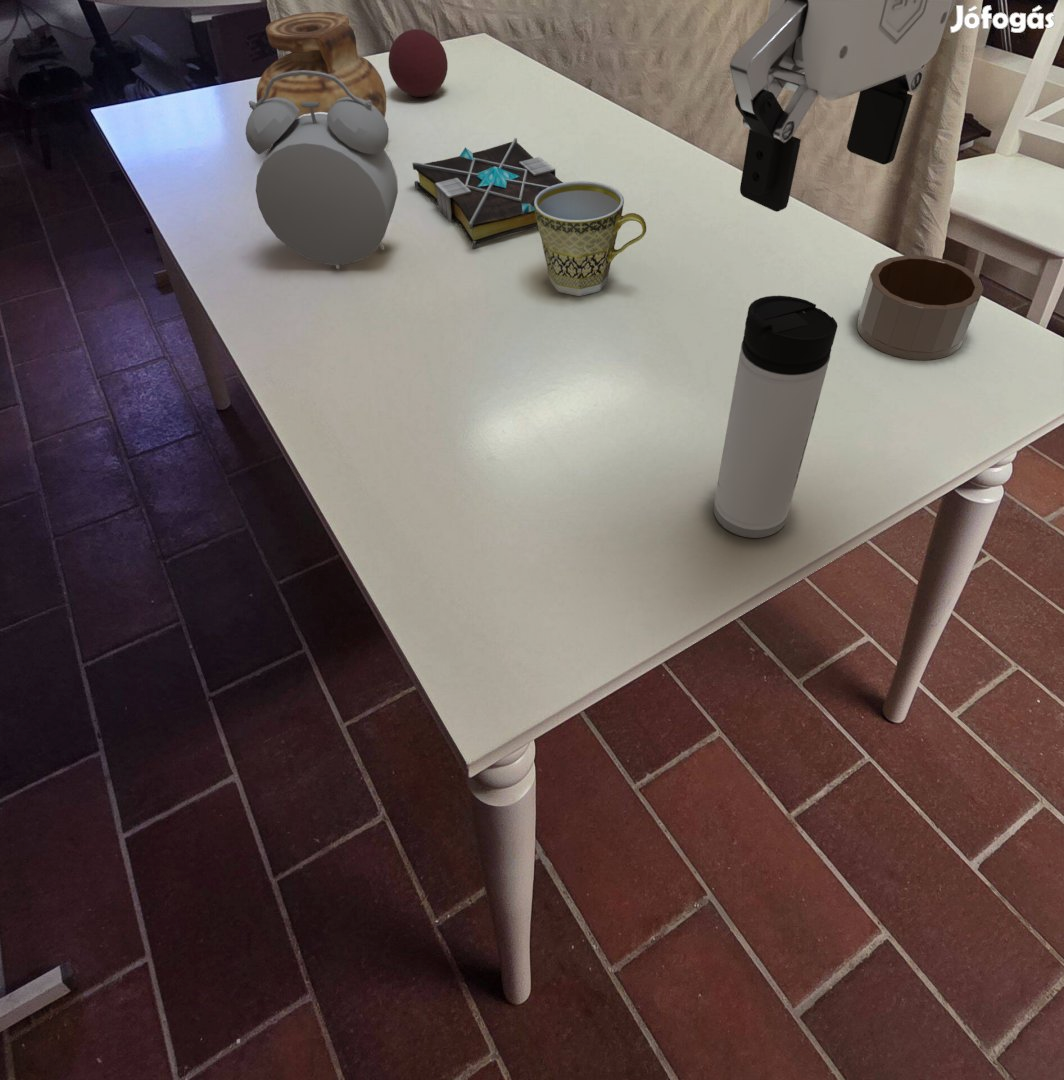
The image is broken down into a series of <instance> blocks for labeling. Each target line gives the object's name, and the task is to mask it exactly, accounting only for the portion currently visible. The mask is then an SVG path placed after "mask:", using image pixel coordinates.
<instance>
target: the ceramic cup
mask: <svg viewBox="0 0 1064 1080" xmlns="http://www.w3.org/2000/svg"><path fill="white" fill-rule="evenodd" d="M624 203H625V199H624V196H623V194H622V193H621V192H620V191H619V190H618V189H617V188H614V187H613V186H611V185H608V184H606V183H601V182H597V181H590V180H589V181H588V180H574V181H567V182H566V181H564V182H563V183H560V184H556V185H553V186H550V187H548V188H546V189H544V190H543V191H541V192H540V193H539V194H538V195H537V196H536V198H535V201H534V207H535V214H536V219H537V224H538V227H537V229H538V233H539V236H540V239H541V243H542V249H543V255H544V259H545V263H546V268H547V269H546V270H547V273H548V277H549V282H550V284H552V286H553V287H554V288H555V289H556V291H557V292H558V293H561V294H565V295H566V294H567V295H572V296H576V297H583V296H586V295H591V294H594V293H599V292H601V290H603V288H604V287H605V285H606V284H607V283H608V279H609V273H610V269H611V264H612V262H613V260H614V259H615V257H616V256H617V255H619V254H621V253H622V252H624V251H625V250H626V249H627V248H629V247H630V246H632V245H634V244H635V243H637V242H639V241H640V240H642V239H643V237H644V236H645V235H646V232H647V222H646V221H645V219H644V217H643V216H642V215H640V214H638V213H635V212H629V213H626V214H624V215H623V210H624ZM631 221H633V222H636V223H639V224H640V225H641V229H642V231H641V233H640V234H639V235H638V236H637V237H635V238H632V239H631V240H629V241H627V242H626V243H625V244H623V246H621V247H620V248H618V249H616V248H615V246H616V241H617V237H618V233H619V231H620V229H621V228H622V226H623V225H624V224H625V223H628V222H631Z"/></svg>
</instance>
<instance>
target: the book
mask: <svg viewBox="0 0 1064 1080" xmlns="http://www.w3.org/2000/svg"><path fill="white" fill-rule="evenodd" d="M412 170H413V171H414V170H415V171H417V174H418V175H417V176H418V180H415V181H414V188H415V189H419V190H422V191H423V192H424V193H425V194H426V195H428V196H429V197H430V198H431V199H432V200H433V201H434V202H436V203H437V208H438V210H439V211H440V213H442V215H444V217H446V218H447V220H448V221H449V222H450V223H455V222H456V223H457V225H459V226H460V227H461V229H462V230H463V231H464V233H465V234H466V236H467V237H468V239H469V241H470V242H471V244H472V249H476V248H477V246H478V245H481V244H484V243H487V242H490V241H493V240H497V239H499V238H503V237H505V236H509V235H513V234H517V233H521V232H525V231H528V230H532V229H536V228H537V229H538V224H537V219H536V214H535V207H534V201H535V198H536V196H537V195H538V194H539V193H540V192H541V191H543V190H544V189H546V188H548V187H550V186H553V185H556V184H560V183H564V181H561V180H560V179H559V178H558V177H557V176H556V168H555V167H554V166H552V164H550V163H548V162H547V161H546V160H544V159H543V157H541V156H537V157H533V156H532V155H531V154H530V153H529V152H528V151H527V150H526V149H525V147H523V146H522V145H521V144H520V143H518V138H517V137H513V140H512V141H510V142H506V143H503V144H499V145H496V146H494V147H490V148H487V149H483V150H479V151H475V152H472V151H471V150H470V149H468V147H466V146H465V147H464V149H463V150H462V152H461V153H460V155H458V156H454V157H450V158H446V159H441V160H437V161H432V162H425V163H421V162H412Z"/></svg>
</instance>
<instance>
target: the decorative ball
mask: <svg viewBox="0 0 1064 1080" xmlns="http://www.w3.org/2000/svg"><path fill="white" fill-rule="evenodd" d="M448 65H449V64H448V57H447V53H446V51H445V48H444V46H443V44H442V43H441V41H440V40H439V39H438V38H437V37H436V36H435V35H433V34H432V33H431V32H429V31H428V30H427V31H426V30H424V29H420V28H419V29H417V28H412V29H409V30H405V31H404V32H402V33H401V34H398V36H397V37H396V38H395V40H394V41H393V43H392V44H391V47H390V49H389V52H388V69H389V74H390V75H391V78H392V80H393V82H394V83H395V85H396V87H398V88H399V89H400V91H403V93H405V94H407V95H409V96H412V97H415V98H424V97H429V96H431V95H433V94H434V93H436V92H437V91H439V89H441V87H442V86H443V84H444V82H445V80H446V77H447V75H448V67H449V66H448Z"/></svg>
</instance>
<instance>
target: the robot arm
mask: <svg viewBox="0 0 1064 1080" xmlns="http://www.w3.org/2000/svg"><path fill="white" fill-rule="evenodd" d="M957 3H958V0H770V2H769V5H768V6H769V7H768V13H767V18H766V21H765V22H764V23H763V24H762V25H761V26H760V27H759V28H758V29H757V30H756V31H755V32H754V33H753V34H752V35H751V36H750V38H749V39H748V40H746V41H745V42H744V44H742V46H741V47H740V48H739V49H738V50H737V51H736V52H735V53H734V54H733V56H732V58H731V59H730V63H729V69H730V74H731V78H732V79H731V80H732V83H733V87H734V92H735V99H734V105H735V107H736V109H737V111H738V112H739V113H740V115H741V116H742V125H743V127H744V128H746V129H747V130H749V131H748V136H747V140H746V148H745V155H744V162H743V165H742V166H743V168H742V172H741V173H742V174H741V180H740V185H739V186H740V187H739V193H740V195H741V196H742V197H744V198H745V199H748V200H749V201H751V202H754V203H756V204H758V205H760V206H762V207H765V208H767V209H769V210H771V211H773V212H776V213H778V212H780V211H783V210H785V209H787V207H788V205H789V200H790V195H791V191H792V185H793V181H794V176H795V173H796V172H795V171H796V167H797V163H798V162H797V161H798V157H799V153H800V149H801V148H800V147H801V141H802V138H798V137H797V136H794V134H795V133H796V132H797V130H798V128H799V126H800V125H801V123H802V121H804V118H805V117H806V115H807V114H808V112H809V110H810V108H811V107H812V105H813V103H814V102H815V101H816V99H817V97H818V95H819V96H820V97H821V98H822V99H826V100H830V101H834V100H840V99H842V98H846V97H849V96H852V95H854V94H858V93H859V94H858V98H857V103H856V107H855V111H854V115H853V119H852V123H851V127H850V130H849V135H848V139H847V143H846V149H847V150H848V151H849V152H850V153H852V154H854V155H856V156H860V157H862V158H865V159H867V160H869V161H872V162H875V163H878V164H880V165H884V166H885V165H887V164H890V163H892V162H893V161H894V160H895V157H896V154H897V151H898V147H899V143H900V140H901V138H902V134H903V130H904V127H905V124H906V121H907V117H908V113H909V110H910V105H911V103H912V99H913V94H911V93H915V92H916V91H917V90H918V89H919V88H920V86H921V84H922V82H923V79H924V76H925V75H924V74H925V73H924V68H925V65H926V64H927V63H928V62H929V61H930V60H932V58H933V57H934V56H935V55H936V54H937V52H938V50H939V48H940V47H939V46H940V44H941V41H942V38H943V34H944V31H945V28H946V25H947V22H948V20H949V18H950V17H951V15H952V12H953V10H954V9H955V7H956V4H957ZM784 89H785V90H788V91H791V92H794V93H793V95H792V97H791V98H790V100H789V101H788V103H787V104H786V106H785V108H784V109H783V108H782V106H781V104H780V102H779V101H778V98H779V96H780V94H781V93H782V91H783V90H784ZM908 92H909V93H908Z"/></svg>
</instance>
